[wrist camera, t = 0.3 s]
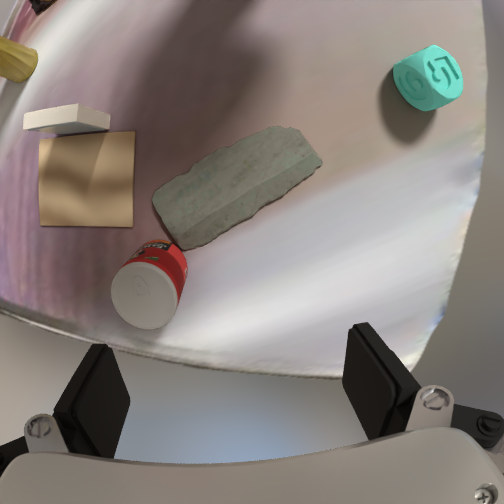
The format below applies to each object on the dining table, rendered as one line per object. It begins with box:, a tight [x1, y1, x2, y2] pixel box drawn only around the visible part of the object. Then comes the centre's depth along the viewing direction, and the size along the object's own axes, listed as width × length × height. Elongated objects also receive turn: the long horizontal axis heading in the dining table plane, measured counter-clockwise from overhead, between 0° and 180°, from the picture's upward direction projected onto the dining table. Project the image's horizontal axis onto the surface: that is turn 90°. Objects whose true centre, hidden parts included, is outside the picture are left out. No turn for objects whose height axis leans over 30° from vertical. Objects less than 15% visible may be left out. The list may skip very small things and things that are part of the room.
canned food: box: [111, 240, 188, 330], centre depth 36 cm, size 8×8×11 cm
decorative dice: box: [393, 45, 463, 111], centre depth 32 cm, size 8×8×8 cm
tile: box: [23, 104, 110, 134], centre depth 30 cm, size 2×8×10 cm, turn 86°
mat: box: [39, 131, 136, 227], centre depth 36 cm, size 13×16×1 cm
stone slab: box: [152, 126, 322, 250], centre depth 39 cm, size 22×3×10 cm
